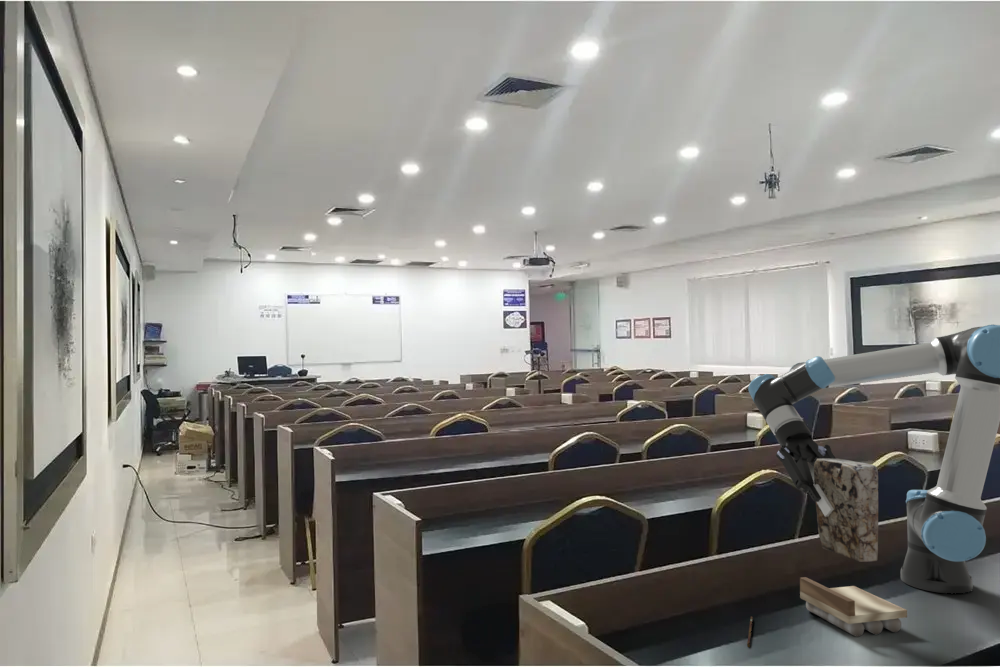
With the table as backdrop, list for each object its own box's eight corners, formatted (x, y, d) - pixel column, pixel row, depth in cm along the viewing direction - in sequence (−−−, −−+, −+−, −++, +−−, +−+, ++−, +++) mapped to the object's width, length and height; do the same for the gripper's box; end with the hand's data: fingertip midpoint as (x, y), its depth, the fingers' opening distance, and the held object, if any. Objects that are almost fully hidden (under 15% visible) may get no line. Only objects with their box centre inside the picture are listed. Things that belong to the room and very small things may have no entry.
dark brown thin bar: (749, 649, 133) (749, 644, 133) (747, 649, 133) (747, 643, 133) (752, 621, 147) (752, 616, 147) (750, 620, 147) (750, 616, 147)
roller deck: (854, 605, 154) (853, 572, 154) (907, 632, 139) (906, 595, 140) (800, 611, 151) (799, 577, 151) (849, 639, 136) (848, 601, 137)
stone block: (886, 560, 140) (881, 463, 141) (860, 565, 138) (855, 466, 139) (835, 544, 153) (830, 455, 154) (810, 548, 151) (806, 458, 151)
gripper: (814, 436, 168) (868, 517, 152) (749, 440, 164) (797, 525, 147) (828, 416, 163) (885, 498, 147) (761, 420, 159) (812, 505, 142)
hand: (841, 511), depth 147 cm, fingers closed on stone block, 5 cm apart
